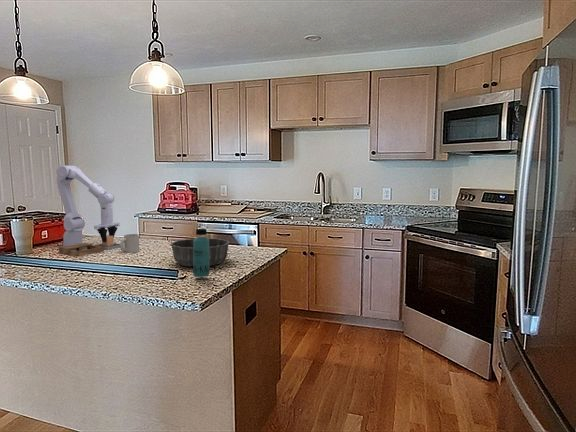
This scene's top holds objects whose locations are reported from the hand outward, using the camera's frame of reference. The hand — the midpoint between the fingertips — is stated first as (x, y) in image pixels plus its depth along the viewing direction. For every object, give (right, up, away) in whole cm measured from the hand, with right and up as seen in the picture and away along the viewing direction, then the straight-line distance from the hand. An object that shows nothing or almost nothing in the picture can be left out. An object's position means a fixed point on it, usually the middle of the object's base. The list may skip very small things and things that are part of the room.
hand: (107, 241), depth 216 cm
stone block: (0, -2, 0) cm, 2 cm away
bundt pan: (+56, -9, -30) cm, 64 cm away
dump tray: (0, -4, +1) cm, 4 cm away
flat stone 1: (-13, -5, -13) cm, 19 cm away
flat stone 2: (-10, -4, -8) cm, 13 cm away
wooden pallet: (-8, -5, -12) cm, 16 cm away
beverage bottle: (+62, -12, -56) cm, 85 cm away
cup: (+15, -6, -9) cm, 19 cm away
